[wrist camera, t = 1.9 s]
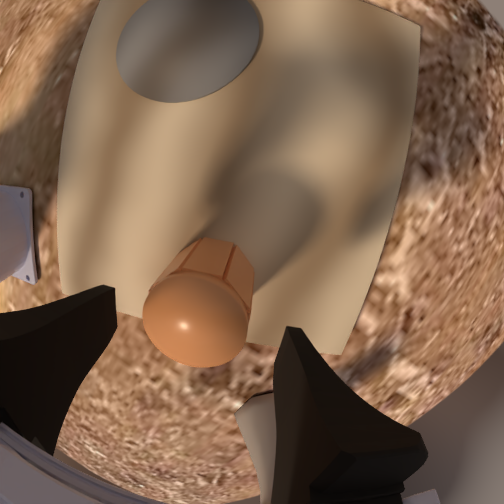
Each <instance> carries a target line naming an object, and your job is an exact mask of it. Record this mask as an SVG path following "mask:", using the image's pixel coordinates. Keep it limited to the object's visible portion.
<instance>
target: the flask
mask: <svg viewBox="0 0 504 504" xmlns="http://www.w3.org/2000/svg"><path fill="white" fill-rule="evenodd" d="M234 415H235V418H236V421H237V423H238V426H239V428H240V431H241V433H242V436H243V438H244V441H245V443H246V445H247V448H248V451H249V454H250V456H251V459H252V461H253V464H254V467H255V469H256V472H257V477H258V482H259V487H260V504H270V503H271V496H272V488H273V479H274V467H275V454H276V418H275V405H274V393H270V394H265V395H261V396H256V397H252V398H251V399H250V400H248V401H247V402H246V403H245V404H244V405H243V406H242V407H241V408H240V409H239V410H238V411H237V412H236V413H235V414H234Z"/></svg>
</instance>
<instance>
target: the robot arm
mask: <svg viewBox="0 0 504 504" xmlns="http://www.w3.org/2000/svg"><path fill="white" fill-rule="evenodd" d="M23 193H24V195H23ZM11 275H12V276H14V277H16V278H18V279H21V280H23V281H25V282H28V283H30V284H33V285H34V284H36V283H37V281H38V278H37V271H36V262H35V252H34V240H33V220H32V191H31V189H30V188H25V187H17V186H9V185H1V184H0V282H2V281H3V280H5V279H6V278H8V277H9V276H11ZM116 329H117V314H116V295H115V288H114V287H110V286H107V285H104V284H103V285H99V286H96V287H93V288H90V289H87V290H85V291H82V292H79V293H77V294H74V295H71V296H69V297H66V298H63V299H60V300H57V301H54V302H51V303H48V304H45V305H42V306H38V307H34V308H30V309H26V310H20V311H13V312H6V313H0V504H167V503H164V502H160V501H156V500H153V499H150V498H146V497H143V496H140V495H137V494H134V493H131V492H128V491H126V490H123V489H120V488H118V487H115V486H113V485H110V484H108V483H105V482H103V481H101V480H98V479H96V478H94V477H91V476H89V475H87V474H85V473H83V472H81V471H79V470H77V469H75V468H73V467H71V466H69V465H67V464H65V463H64V462H62V461H60V460H58V459H56V458H55V457H53V454H54V450H55V447H56V443H57V439H58V436H59V433H60V430H61V427H62V424H63V422H64V419H65V416H66V414H67V412H68V409H69V407H70V405H71V402H72V400H73V398H74V396H75V394H76V392H77V390H78V388H79V386H80V385H81V383H82V381H83V380H84V378H85V377H86V375H87V374H88V372H89V371H90V370H91V368H92V367H93V365H94V364H95V363H96V361H97V360H98V358H99V357H100V356H101V354H102V353H103V351H104V350H105V349H106V347H107V346H108V344H109V342H110V340H111V339H112V337H113V335H114V333H115V331H116ZM273 391H274V405H275V418H276V454H275V467H274V479H273V488H272V496H271V503H270V504H440V501H439V498H438V496H437V492H436V489H432V490H429V491H426V492H422V493H419V494H415V495H412V496H409V497H407V498H405V499H403V500H402V498H401V495H400V493H402V492H403V491H404V489H405V488H404V484H403V481H405V480H406V479H407V478H408V477H410V476H411V475H412V474H413V473H415V472H416V471H417V470H418V469H419V468H420V467H421V466H422V465H423V464H424V463H425V461H426V459H427V458H428V451H427V449H426V446H425V444H424V442H423V439H422V437H421V435H420V433H419V432H416V431H415V430H412V429H410V428H408V427H406V426H404V425H402V424H400V423H398V422H396V421H394V420H393V419H391V418H389V417H387V416H386V415H384V414H383V413H381V412H380V411H378V410H377V409H375V408H374V407H372V406H371V405H370V404H368V403H367V402H366V401H364V400H363V399H362V398H361V397H359V396H358V395H357V394H356V393H355V392H354V391H352V390H351V389H350V388H349V387H348V386H347V385H346V384H345V383H344V382H343V381H342V380H341V379H340V378H339V377H338V376H337V375H336V373H335V372H334V371H333V370H332V369H331V368H330V367H329V365H328V364H327V363H326V362H325V360H324V359H323V358H322V356H321V355H320V354H319V353H318V351H317V350H316V348H315V347H314V346H313V344H312V343H311V341H310V340H309V338H308V337H307V336H306V334H305V333H304V331H303V330H302V328H298V327H292V326H286V328H285V332H284V335H283V338H282V341H281V344H280V347H279V350H278V353H277V356H276V359H275V362H274V375H273Z"/></svg>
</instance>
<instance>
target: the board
mask: <svg viewBox="0 0 504 504" xmlns="http://www.w3.org/2000/svg"><path fill="white" fill-rule="evenodd" d="M419 58H420V26H419V25H417V24H415V23H413V22H411V21H408V20H406V19H404V18H402V17H400V16H398V15H395V14H393V13H391V12H389V11H386V10H384V9H381V8H379V7H376V6H374V5H371V4H368V3H366V2H363V1H360V0H100V2H99V5H98V7H97V9H96V12H95V14H94V16H93V19H92V22H91V24H90V27H89V30H88V32H87V35H86V38H85V41H84V44H83V47H82V50H81V53H80V57H79V60H78V63H77V67H76V71H75V74H74V78H73V82H72V86H71V91H70V95H69V100H68V105H67V110H66V116H65V121H64V128H63V134H62V142H61V150H60V160H59V172H58V189H57V241H58V258H59V270H60V280H61V288H62V293H64V294H66V295H69V296H71V295H74V294H77V293H79V292H82V291H85V290H87V289H90V288H93V287H96V286H99V285H103V284H104V285H107V286H110V287H114V288H115V295H116V311H118V312H122V313H125V314H129V315H132V316H136V317H139V318H142V312H143V306H144V302H145V300H146V298H147V296H148V291H149V289H150V287H151V286H152V284H153V283H154V282H155V281H156V280H157V278H158V277H159V276H160V275H161V273H162V272H163V271H164V270H165V269H166V267H167V266H168V265H169V264H170V263H171V261H172V260H173V259H174V258H175V257H176V255H177V254H178V253H179V252H181V251H182V250H184V249H185V248H186V247H188V246H189V245H191V244H192V243H194V242H195V241H197V240H198V239H199V238H201V239H203V238H204V237H207V238H212V239H217V240H222V241H228V242H233V243H234V244H233V247H234V246H236V245H237V246H238V247H239V248H240V250H241V251H242V252H243V254H244V255H245V257H246V258H247V259H248V261H249V262H250V264H251V265H252V266H253V268H254V272H255V274H254V285H253V297H252V309H251V316H250V320H249V324H248V332H247V339H246V342H250V343H255V344H261V345H267V346H274V347H280V344H281V341H282V338H283V335H284V332H285V328H286V326H292V327H298V328H302V330H303V331H304V333H305V334H306V336H307V337H308V338H309V340H310V341H311V343H312V344H313V346H314V347H315V348H316V350H317V351H318V353H326V354H336V355H341V354H342V352H343V349H344V347H345V345H346V343H347V341H348V338H349V336H350V334H351V332H352V329H353V327H354V325H355V322H356V320H357V317H358V315H359V313H360V310H361V308H362V305H363V303H364V300H365V297H366V295H367V292H368V289H369V287H370V284H371V281H372V279H373V276H374V273H375V270H376V267H377V264H378V261H379V258H380V255H381V252H382V249H383V246H384V243H385V240H386V236H387V233H388V230H389V226H390V223H391V219H392V216H393V212H394V208H395V205H396V201H397V197H398V193H399V189H400V185H401V180H402V176H403V172H404V167H405V162H406V157H407V152H408V147H409V142H410V136H411V130H412V124H413V117H414V110H415V102H416V94H417V84H418V73H419Z"/></svg>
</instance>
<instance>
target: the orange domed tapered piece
mask: <svg viewBox="0 0 504 504" xmlns="http://www.w3.org/2000/svg"><path fill="white" fill-rule="evenodd" d="M233 244H234V243H233V242H228V241H222V240H217V239H212V238H207V237H204V238H203V239H201V238H199V239H198V240H197V241H195V242H194V243H192V244H191V245H189V246H188V247H186V248H185V249H184V250H182V251H181V252H179V253H178V254H177V255H176V257H175V258H174V259H173V260H172V261H171V263H170V264H169V265H168V266H167V267H166V269H165V270H164V271H163V272H162V273H161V275H160V276H159V277H158V278H157V280H156V281H155V282H154V283H153V284H152V286H151V287H150V289H149V291H148V296H147V298H146V300H145V302H144V306H143V312H142V318H143V324H144V328H145V330H146V333H147V335H148V337H149V338H150V340H151V341H152V343H153V344H154V345H155V346H156V347H157V348H158V349H159V350H160V351H161V352H162V353H164V354H165V355H166V356H168V357H169V358H171V359H173V360H175V361H177V362H179V363H182V364H185V365H188V366H193V367H214V366H218V365H221V364H224V363H226V362H228V361H230V360H231V359H233V358H234V357H235V356H236V355H238V354H239V352H240V351H241V350H242V348H243V346H244V344H245V342H246V339H247V332H248V324H249V320H250V316H251V309H252V297H253V285H254V274H255V272H254V268H253V266H252V265H251V264H250V262H249V261H248V259H247V258H246V257H245V255H244V254H243V252H242V251H241V250H240V248H239V247H238V246H237V245H236V246H234V247H233Z"/></svg>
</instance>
